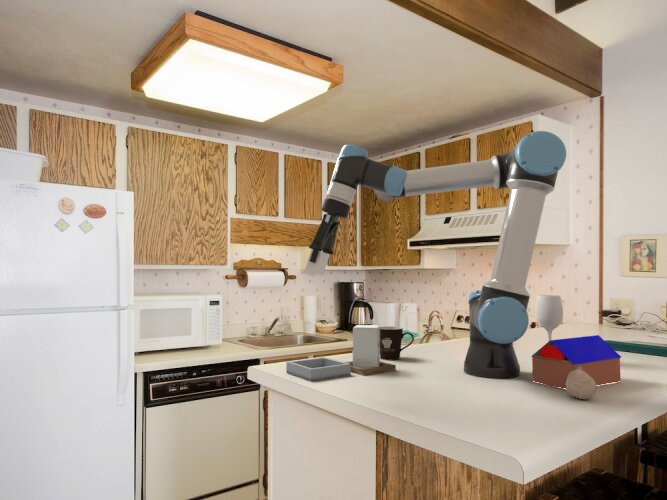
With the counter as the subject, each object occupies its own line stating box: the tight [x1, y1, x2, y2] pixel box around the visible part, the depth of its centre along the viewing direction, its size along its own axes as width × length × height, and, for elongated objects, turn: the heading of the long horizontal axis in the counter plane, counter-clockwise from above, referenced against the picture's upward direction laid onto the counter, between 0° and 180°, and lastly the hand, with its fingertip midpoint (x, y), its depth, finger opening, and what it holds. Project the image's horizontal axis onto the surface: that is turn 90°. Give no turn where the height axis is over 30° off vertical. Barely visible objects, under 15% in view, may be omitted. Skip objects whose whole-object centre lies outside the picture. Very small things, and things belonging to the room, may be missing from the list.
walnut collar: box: [344, 360, 397, 376], centre depth 138 cm, size 12×12×2 cm
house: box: [530, 334, 622, 389], centre depth 122 cm, size 12×20×12 cm, turn 119°
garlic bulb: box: [565, 365, 597, 400], centre depth 106 cm, size 7×6×8 cm
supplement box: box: [352, 324, 381, 369], centre depth 138 cm, size 7×7×13 cm
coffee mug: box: [380, 325, 415, 361], centre depth 155 cm, size 12×9×10 cm
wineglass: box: [534, 294, 564, 343], centre depth 151 cm, size 9×9×21 cm
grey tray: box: [285, 356, 352, 382], centre depth 132 cm, size 13×13×3 cm
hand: (313, 274), depth 129 cm, fingers open, 13 cm apart
